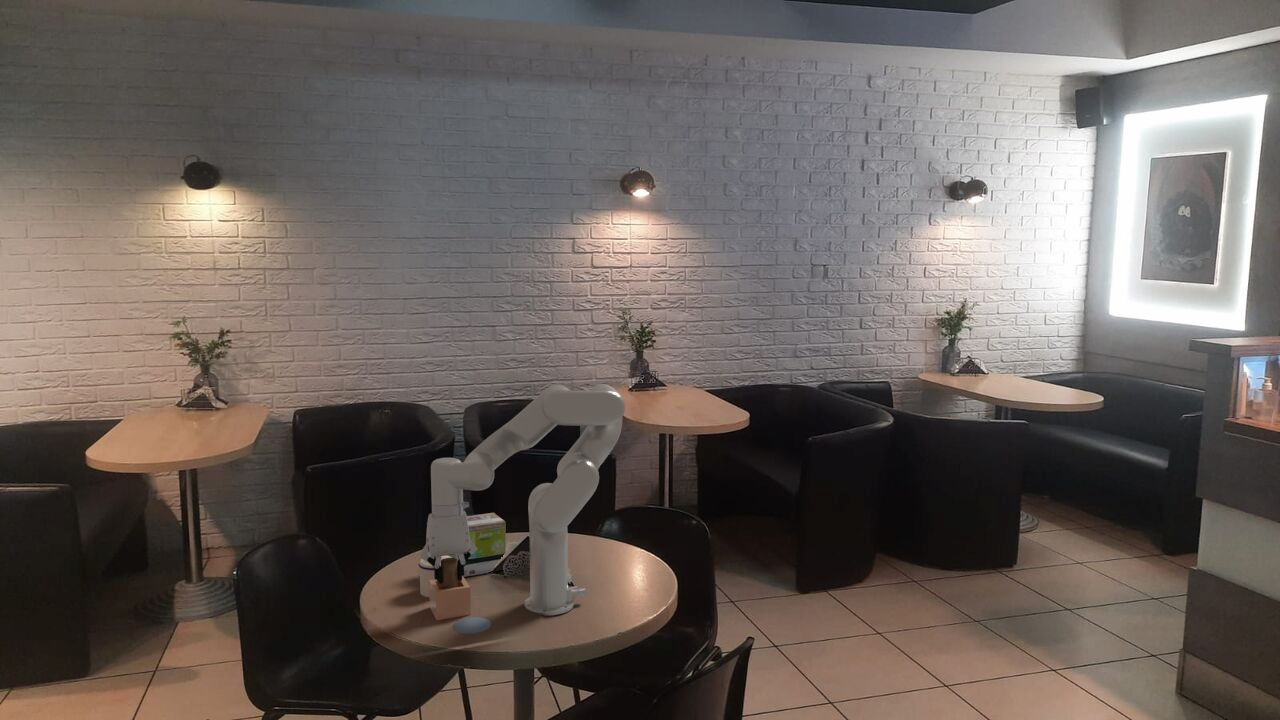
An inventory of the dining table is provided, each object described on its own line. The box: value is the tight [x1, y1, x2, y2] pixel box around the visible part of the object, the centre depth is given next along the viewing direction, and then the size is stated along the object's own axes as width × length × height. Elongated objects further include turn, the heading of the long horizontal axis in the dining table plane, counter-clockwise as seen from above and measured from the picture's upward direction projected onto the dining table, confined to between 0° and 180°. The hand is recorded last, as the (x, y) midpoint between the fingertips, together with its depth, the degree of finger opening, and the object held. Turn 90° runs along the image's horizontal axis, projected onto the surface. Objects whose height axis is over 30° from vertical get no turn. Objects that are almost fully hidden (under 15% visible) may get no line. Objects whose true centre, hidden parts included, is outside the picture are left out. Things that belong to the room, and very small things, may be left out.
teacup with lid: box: [418, 554, 452, 598], centre depth 231 cm, size 12×9×12 cm
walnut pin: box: [441, 558, 458, 590], centre depth 217 cm, size 4×4×13 cm
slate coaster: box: [452, 616, 492, 634], centre depth 209 cm, size 9×9×1 cm
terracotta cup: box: [429, 576, 472, 621], centre depth 217 cm, size 8×8×8 cm
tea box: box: [447, 512, 507, 578], centre depth 247 cm, size 15×10×15 cm, turn 120°
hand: (449, 579), depth 216 cm, fingers open, 4 cm apart
